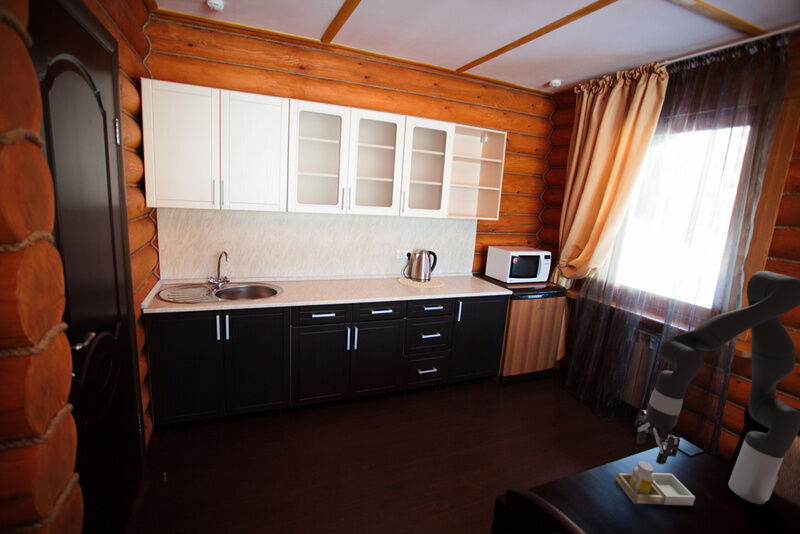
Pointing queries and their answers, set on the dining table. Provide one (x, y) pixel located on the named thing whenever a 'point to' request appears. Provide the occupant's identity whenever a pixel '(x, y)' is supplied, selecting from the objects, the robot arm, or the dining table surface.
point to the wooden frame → (639, 498)
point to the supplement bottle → (642, 478)
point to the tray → (672, 490)
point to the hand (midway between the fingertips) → (649, 452)
